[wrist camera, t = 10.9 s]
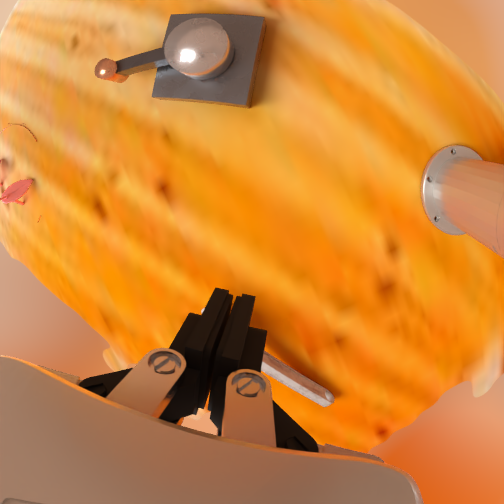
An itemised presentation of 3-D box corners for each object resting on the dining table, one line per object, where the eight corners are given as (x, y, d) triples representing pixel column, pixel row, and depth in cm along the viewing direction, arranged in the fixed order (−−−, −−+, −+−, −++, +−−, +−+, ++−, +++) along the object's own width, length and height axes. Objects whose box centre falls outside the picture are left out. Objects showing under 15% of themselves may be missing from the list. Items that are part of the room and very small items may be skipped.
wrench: (324, 386, 51) (195, 299, 43) (331, 382, 51) (203, 292, 43) (329, 420, 44) (183, 334, 36) (337, 415, 43) (191, 327, 36)
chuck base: (266, 25, 29) (264, 17, 26) (249, 108, 33) (245, 105, 31) (179, 22, 30) (170, 14, 27) (161, 99, 34) (151, 97, 31)
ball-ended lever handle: (232, 25, 27) (224, 11, 23) (235, 75, 29) (227, 66, 25) (113, 54, 29) (95, 47, 25) (114, 99, 32) (94, 97, 27)
